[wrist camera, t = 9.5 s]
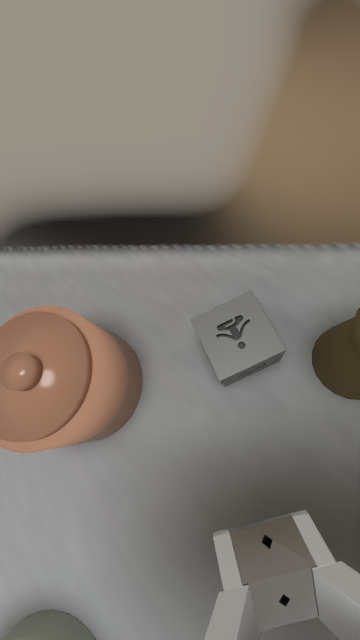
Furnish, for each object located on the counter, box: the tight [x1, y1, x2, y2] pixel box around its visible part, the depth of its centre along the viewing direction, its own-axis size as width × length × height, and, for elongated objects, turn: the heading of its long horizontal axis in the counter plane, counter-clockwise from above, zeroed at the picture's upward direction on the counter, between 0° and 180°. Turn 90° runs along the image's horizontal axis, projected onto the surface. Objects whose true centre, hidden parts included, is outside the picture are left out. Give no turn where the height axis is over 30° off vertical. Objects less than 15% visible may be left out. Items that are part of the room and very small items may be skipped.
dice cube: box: [191, 290, 286, 386], centre depth 24 cm, size 5×5×5 cm
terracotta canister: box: [0, 306, 142, 453], centre depth 24 cm, size 10×10×10 cm
